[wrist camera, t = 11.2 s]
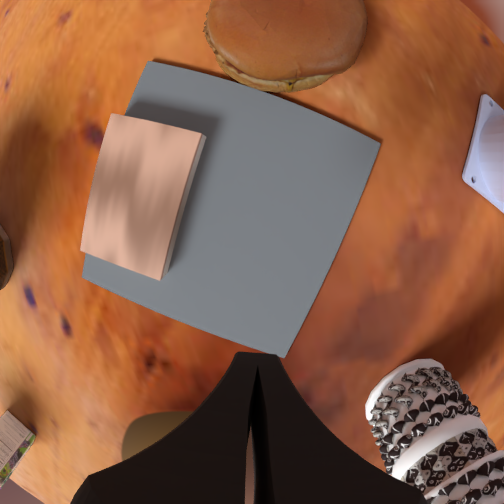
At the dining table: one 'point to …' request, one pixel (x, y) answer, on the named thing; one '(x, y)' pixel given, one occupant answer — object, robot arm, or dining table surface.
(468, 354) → the dining table surface
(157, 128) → the tile
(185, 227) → the mat
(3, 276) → the ceramic cup
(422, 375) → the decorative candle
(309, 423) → the robot arm
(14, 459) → the syrup box
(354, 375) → the dining table surface
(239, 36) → the burger
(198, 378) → the dining table surface
